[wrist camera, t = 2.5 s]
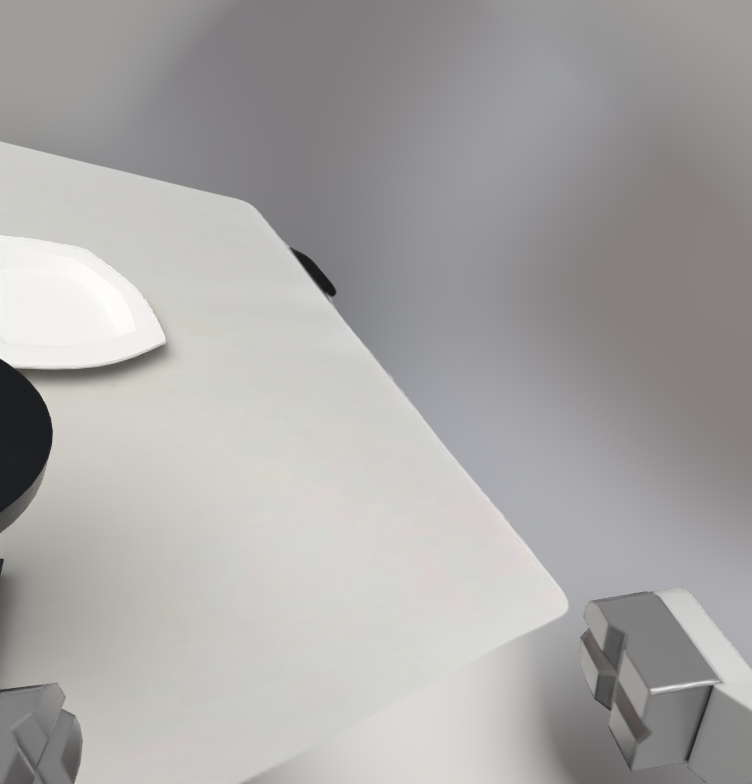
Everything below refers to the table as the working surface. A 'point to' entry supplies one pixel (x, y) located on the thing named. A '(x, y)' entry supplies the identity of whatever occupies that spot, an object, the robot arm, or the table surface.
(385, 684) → the table surface
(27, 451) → the display stand
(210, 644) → the table surface
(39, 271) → the plate
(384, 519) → the table surface
